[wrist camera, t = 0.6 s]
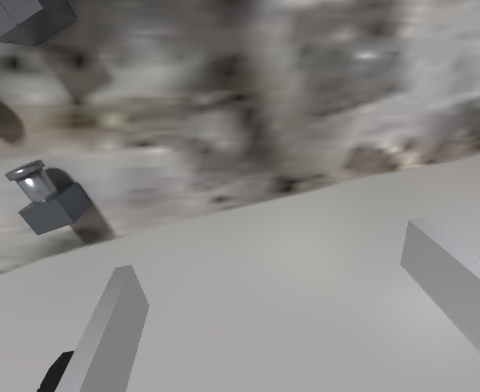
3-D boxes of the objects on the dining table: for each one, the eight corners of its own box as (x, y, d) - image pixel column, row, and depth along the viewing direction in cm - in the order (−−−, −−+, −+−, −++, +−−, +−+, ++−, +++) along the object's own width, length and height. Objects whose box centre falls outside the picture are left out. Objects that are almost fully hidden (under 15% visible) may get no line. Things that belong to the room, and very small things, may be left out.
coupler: (35, 45, 28) (-8, 41, 23) (4, 4, 26) (-50, -11, 21) (77, 19, 27) (43, 8, 22) (48, -25, 26) (3, -49, 20)
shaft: (21, 164, 34) (-9, 180, 29) (56, 152, 33) (31, 165, 29) (59, 214, 37) (37, 235, 33) (91, 203, 37) (74, 223, 32)
